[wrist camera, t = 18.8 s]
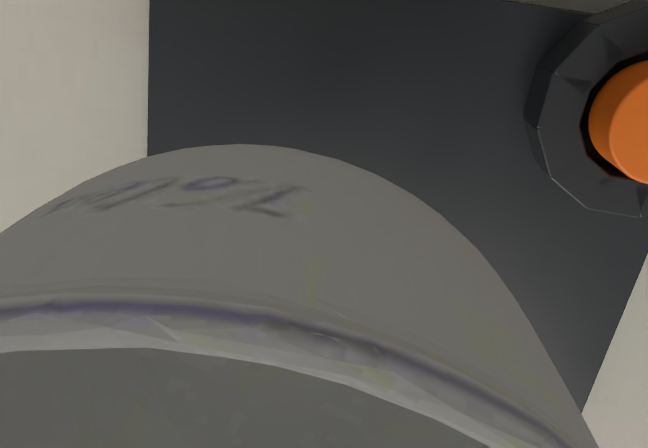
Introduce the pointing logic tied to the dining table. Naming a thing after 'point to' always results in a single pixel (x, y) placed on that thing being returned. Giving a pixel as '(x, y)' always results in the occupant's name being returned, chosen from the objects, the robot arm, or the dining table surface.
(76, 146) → the dining table surface
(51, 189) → the dining table surface
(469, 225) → the scale
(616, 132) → the button
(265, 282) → the teacup
